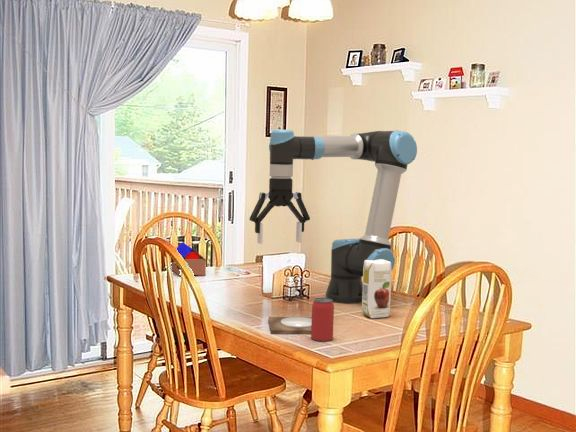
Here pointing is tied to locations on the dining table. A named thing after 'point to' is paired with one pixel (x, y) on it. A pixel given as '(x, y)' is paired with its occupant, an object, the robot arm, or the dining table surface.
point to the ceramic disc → (297, 322)
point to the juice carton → (376, 288)
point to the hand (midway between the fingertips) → (279, 242)
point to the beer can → (322, 319)
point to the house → (191, 260)
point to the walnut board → (280, 329)
